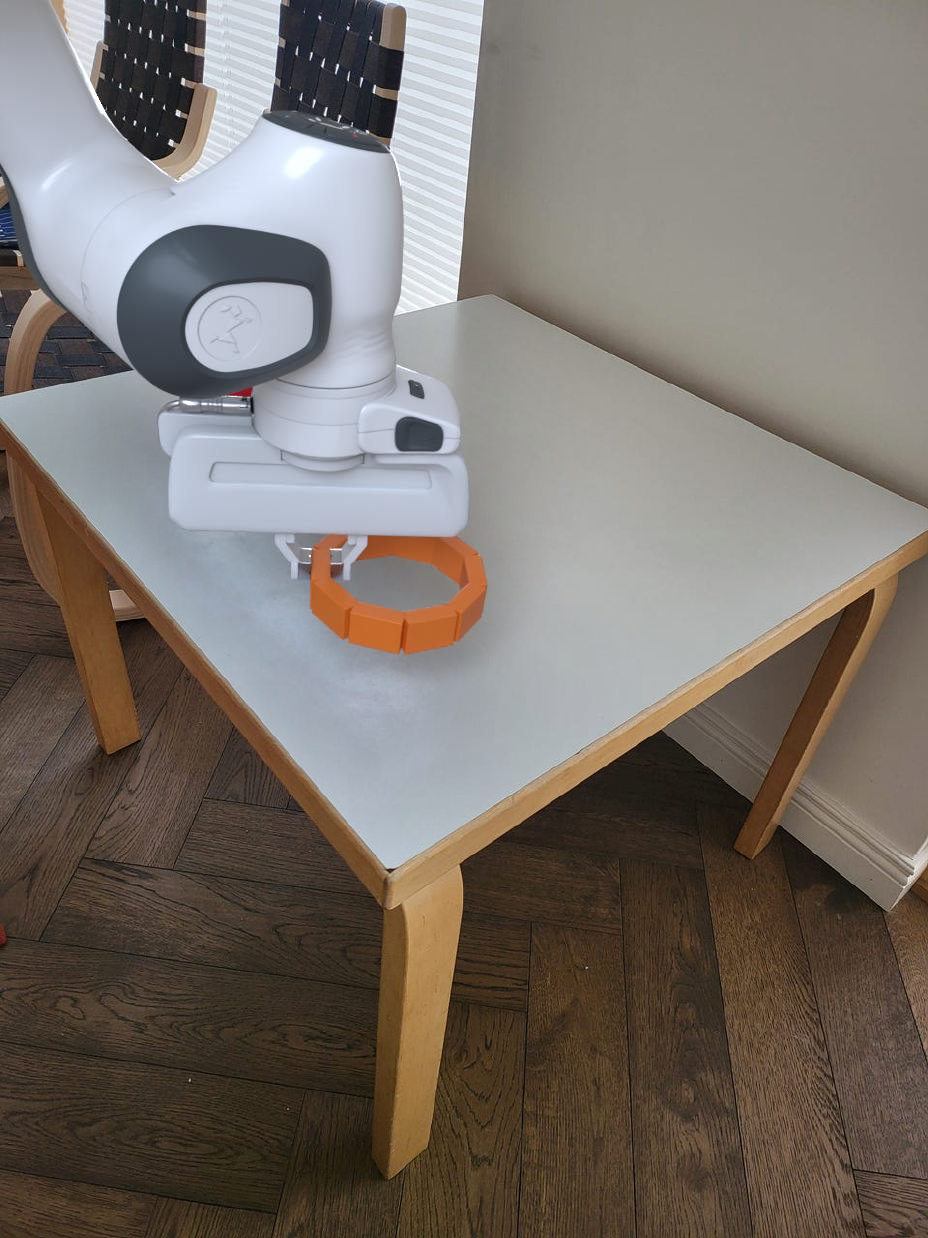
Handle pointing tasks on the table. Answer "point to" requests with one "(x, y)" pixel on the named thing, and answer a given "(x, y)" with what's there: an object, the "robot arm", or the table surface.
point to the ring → (396, 626)
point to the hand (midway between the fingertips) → (320, 575)
